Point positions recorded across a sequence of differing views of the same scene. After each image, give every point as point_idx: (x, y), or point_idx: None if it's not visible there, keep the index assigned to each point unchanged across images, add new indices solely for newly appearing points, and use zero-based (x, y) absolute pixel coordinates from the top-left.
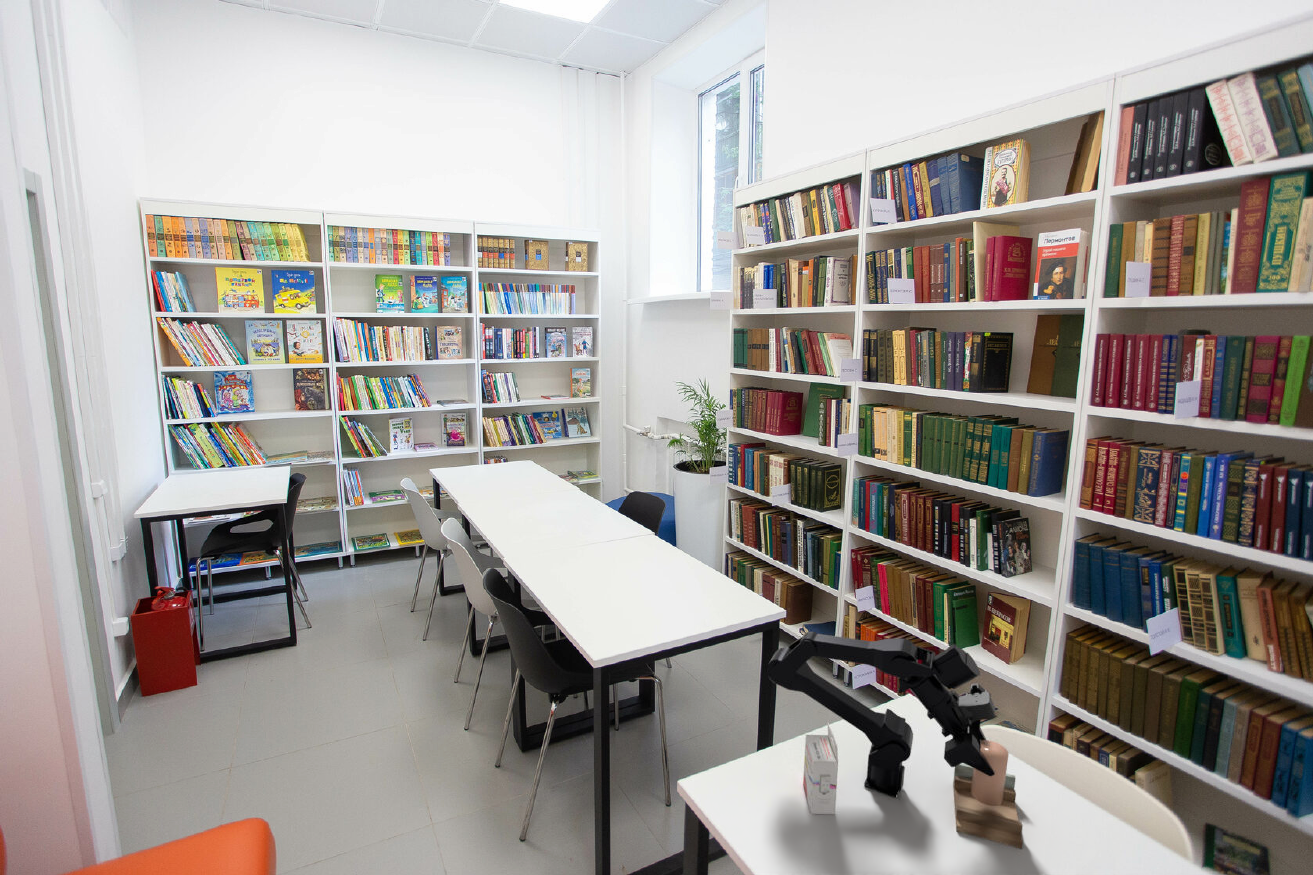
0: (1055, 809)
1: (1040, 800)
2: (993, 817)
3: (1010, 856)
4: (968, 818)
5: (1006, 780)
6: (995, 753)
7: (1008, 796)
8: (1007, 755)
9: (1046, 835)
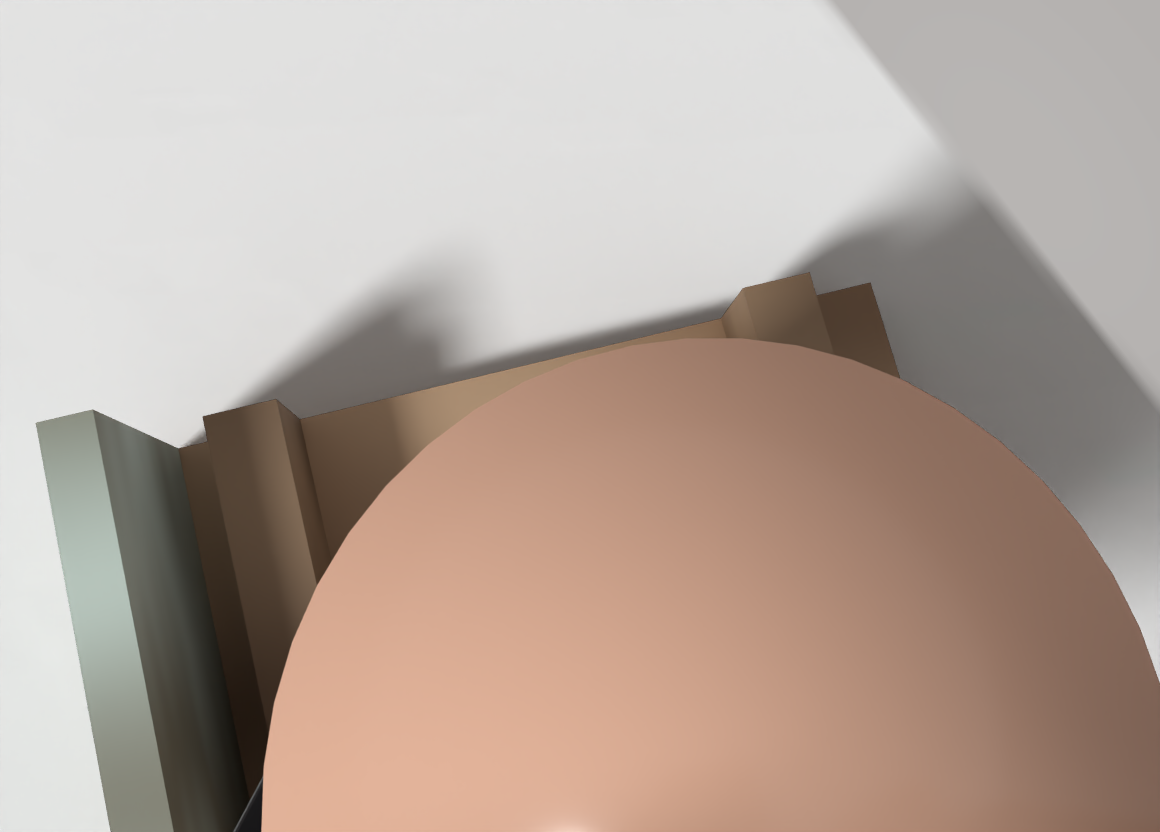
0: (85, 101)
1: (19, 229)
2: None
3: (1014, 370)
4: None
5: (136, 518)
6: (894, 657)
7: (301, 478)
8: (759, 354)
9: (532, 142)
